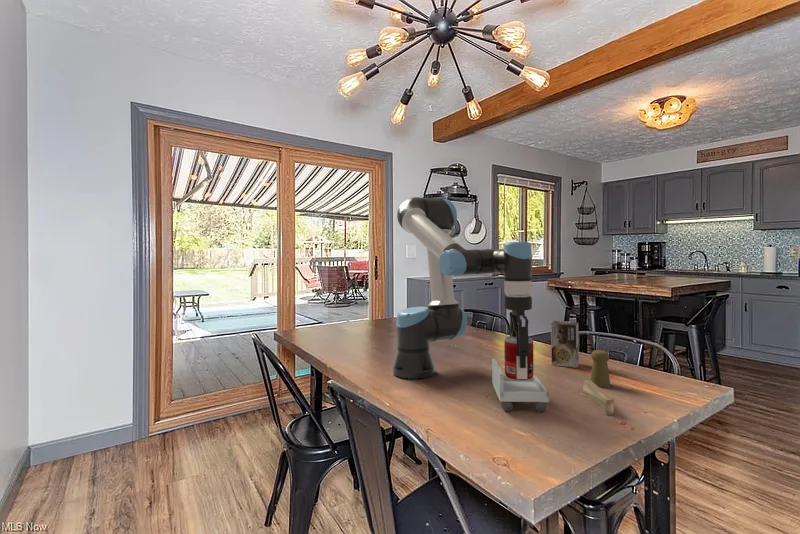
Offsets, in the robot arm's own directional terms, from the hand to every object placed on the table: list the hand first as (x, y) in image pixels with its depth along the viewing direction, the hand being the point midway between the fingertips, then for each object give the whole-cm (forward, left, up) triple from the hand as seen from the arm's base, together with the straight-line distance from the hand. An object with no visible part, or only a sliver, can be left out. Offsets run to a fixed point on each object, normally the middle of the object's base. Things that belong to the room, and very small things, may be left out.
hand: (518, 373), depth 115 cm
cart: (0, 0, -8) cm, 8 cm away
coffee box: (+25, +38, -8) cm, 46 cm away
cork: (+29, +16, -8) cm, 34 cm away
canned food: (0, 0, -1) cm, 1 cm away
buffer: (+22, 0, -8) cm, 23 cm away
